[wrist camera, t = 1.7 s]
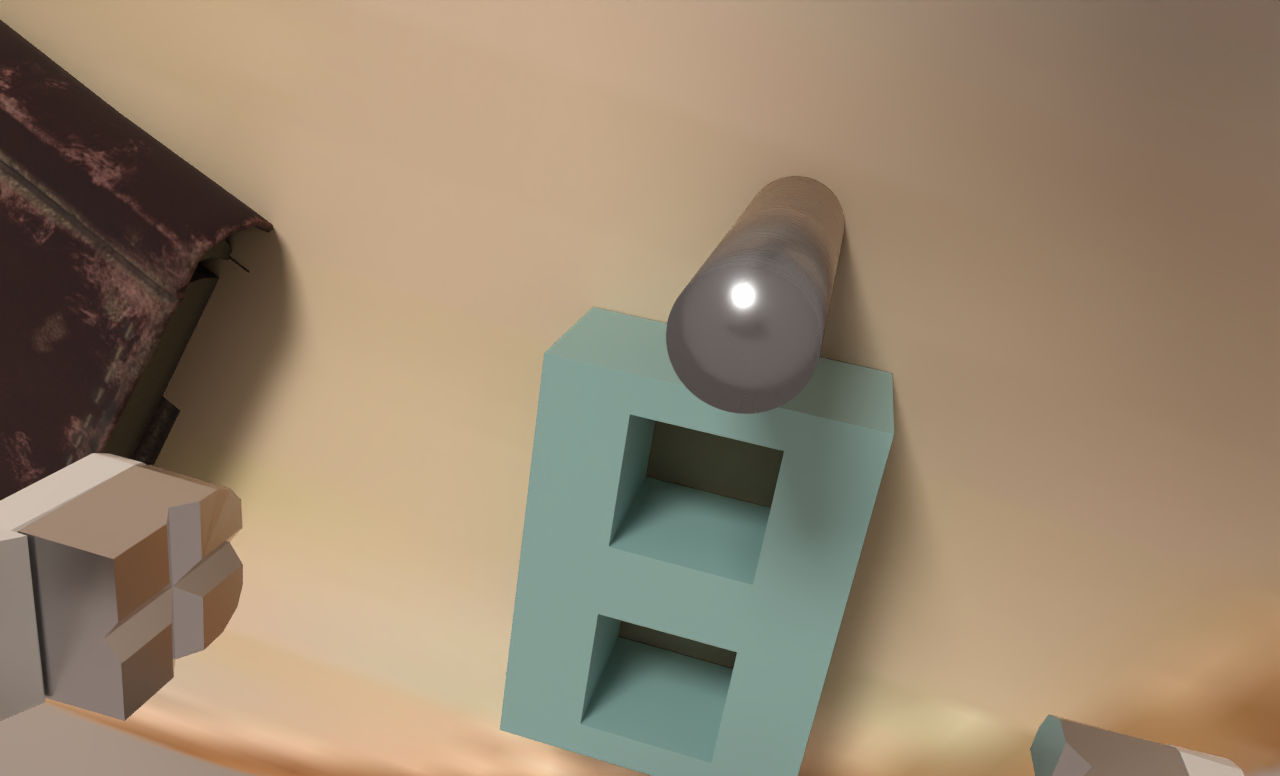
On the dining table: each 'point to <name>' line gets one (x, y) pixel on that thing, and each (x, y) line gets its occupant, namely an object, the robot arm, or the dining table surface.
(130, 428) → the diary
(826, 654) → the hole block
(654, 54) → the dining table surface
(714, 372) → the peg
